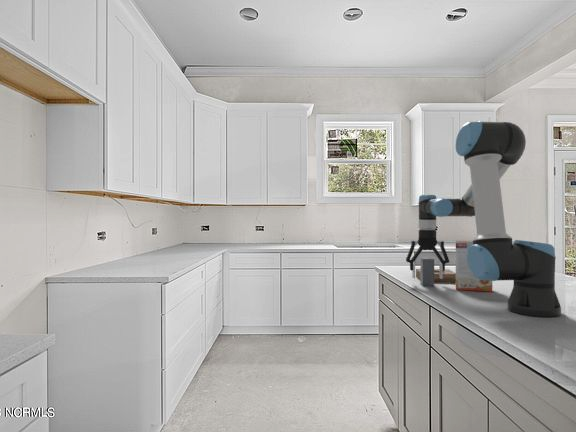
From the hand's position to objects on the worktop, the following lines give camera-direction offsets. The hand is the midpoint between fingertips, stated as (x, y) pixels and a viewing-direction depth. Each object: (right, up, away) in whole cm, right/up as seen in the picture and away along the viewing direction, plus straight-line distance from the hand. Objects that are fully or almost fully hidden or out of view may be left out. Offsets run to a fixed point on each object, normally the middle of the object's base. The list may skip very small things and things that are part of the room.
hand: (427, 278), depth 181 cm
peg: (0, -3, 0) cm, 3 cm away
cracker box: (+16, -3, -11) cm, 20 cm away
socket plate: (+9, -3, +14) cm, 17 cm away
